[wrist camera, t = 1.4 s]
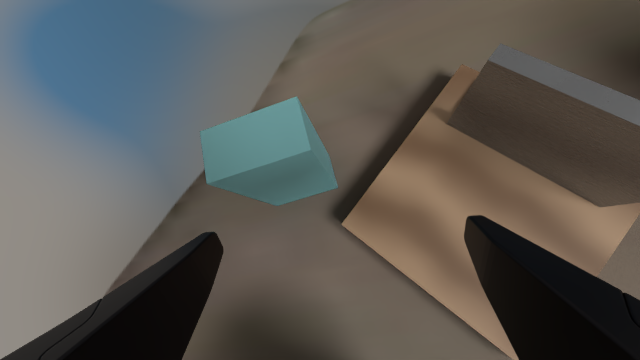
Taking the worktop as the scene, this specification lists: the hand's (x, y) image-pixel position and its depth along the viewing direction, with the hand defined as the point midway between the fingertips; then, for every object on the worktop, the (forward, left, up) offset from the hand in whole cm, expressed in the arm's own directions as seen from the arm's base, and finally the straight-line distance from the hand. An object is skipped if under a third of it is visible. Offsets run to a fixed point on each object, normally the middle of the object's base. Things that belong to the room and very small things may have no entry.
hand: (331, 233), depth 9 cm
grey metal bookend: (+15, -7, -12) cm, 20 cm away
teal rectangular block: (+1, +7, -14) cm, 16 cm away
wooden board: (+9, -7, -14) cm, 18 cm away
